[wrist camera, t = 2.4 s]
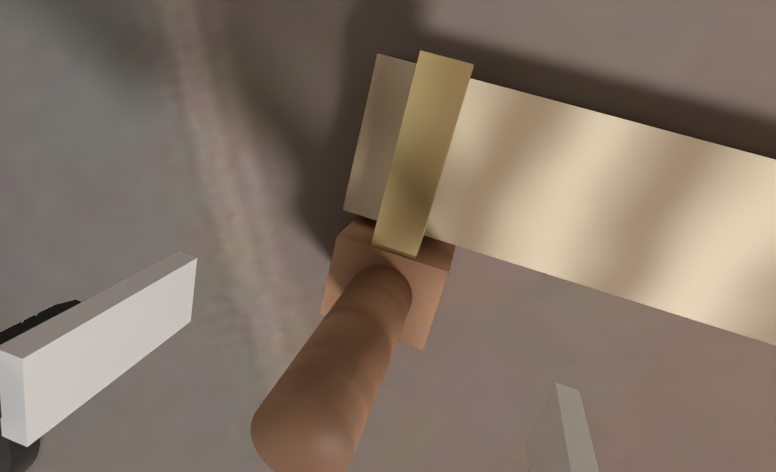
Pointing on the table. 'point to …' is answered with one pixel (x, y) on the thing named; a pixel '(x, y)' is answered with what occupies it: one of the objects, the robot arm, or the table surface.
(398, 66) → the board
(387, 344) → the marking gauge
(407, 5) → the table surface
